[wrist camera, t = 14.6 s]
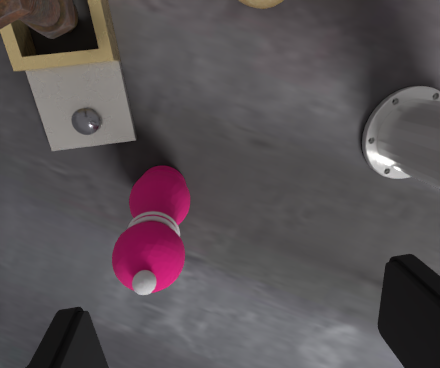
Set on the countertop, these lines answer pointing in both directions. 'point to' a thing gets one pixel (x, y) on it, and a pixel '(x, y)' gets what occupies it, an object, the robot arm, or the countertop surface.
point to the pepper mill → (153, 232)
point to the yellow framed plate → (76, 85)
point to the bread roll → (261, 3)
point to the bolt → (41, 15)
